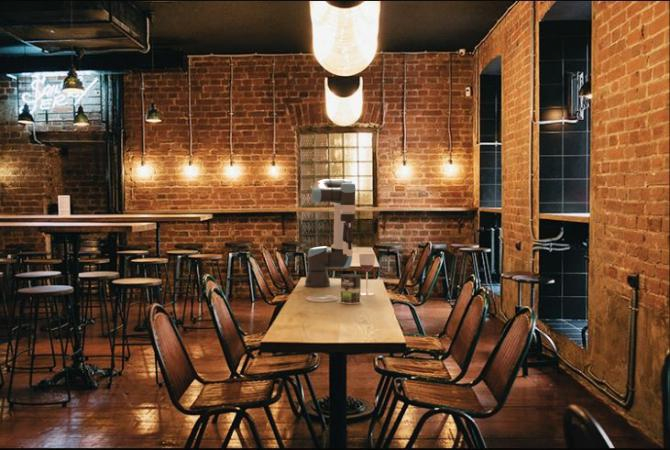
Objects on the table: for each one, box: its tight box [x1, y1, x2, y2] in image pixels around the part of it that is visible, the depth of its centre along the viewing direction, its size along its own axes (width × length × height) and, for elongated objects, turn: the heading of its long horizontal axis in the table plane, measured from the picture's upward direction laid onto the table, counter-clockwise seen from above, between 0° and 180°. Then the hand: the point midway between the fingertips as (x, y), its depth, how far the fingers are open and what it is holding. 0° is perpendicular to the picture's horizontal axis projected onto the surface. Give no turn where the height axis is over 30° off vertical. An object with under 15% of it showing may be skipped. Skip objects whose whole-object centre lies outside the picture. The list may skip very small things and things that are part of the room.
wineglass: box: [358, 253, 376, 296], centre depth 332 cm, size 9×10×22 cm
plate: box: [306, 294, 338, 303], centre depth 313 cm, size 16×16×1 cm
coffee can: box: [340, 273, 362, 305], centre depth 305 cm, size 10×10×14 cm
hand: (347, 255), depth 306 cm, fingers open, 13 cm apart
